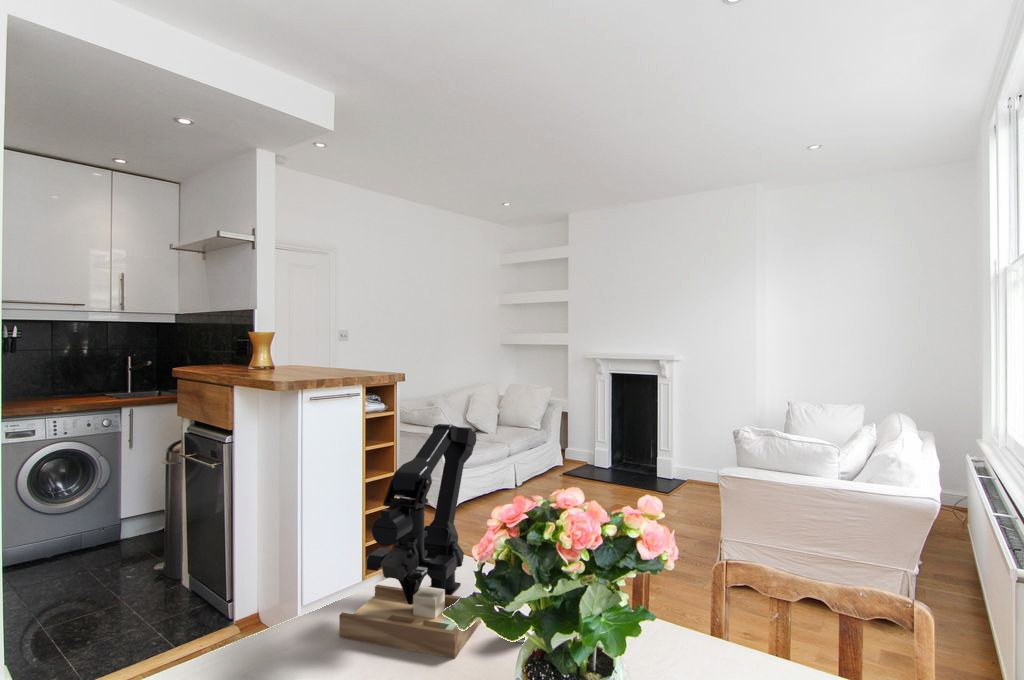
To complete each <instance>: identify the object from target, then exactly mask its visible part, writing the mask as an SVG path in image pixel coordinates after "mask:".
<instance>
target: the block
mask: <svg viewBox="0 0 1024 680" xmlns="http://www.w3.org/2000/svg"><path fill="white" fill-rule="evenodd" d="M444 609H445V589H439V588H432V587H430V586H422V587H420V588H419V590H418V592H417V593H416V594H414V595H413V615H416V616H422V617H428V618H434V619H436V617H437V616H438V615H439V614H440V613H441V612H442V611H443V610H444Z"/></svg>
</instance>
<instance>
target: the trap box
mask: <svg viewBox="0 0 1024 680" xmlns="http://www.w3.org/2000/svg"><path fill="white" fill-rule="evenodd" d="M460 597H461V596H457V595H453V594H452V595H446V594H445V608H447V607H449V606H450V605H452V604H454V603H455V602H456V601H457V600H458V599H459V598H460ZM338 623H339V626H338V627H339V633H338V634H339V638H341V639H346V640H351V639H352V640H351V641H357V640H358V642H362V641H363V642H364V643H370V644H372V645H373V644H374V645H379V646H385V647H390V648H396V649H401V650H407V651H413V652H417V653H422V654H428V655H434V656H439V657H445V658H451V659H456V658H457V657H458V655H459V653H460V652H461V651H462V649H464V647H465V646H466V644H467V642H468V641H469V640H470V638H471V637H472V636H473V634H474V633H475V632H476V631H477V628H478V627H479V626H480V624H481V623H482V622H481V621H480V620H478V621H476V622H475V623H474V624H473V625H472V626H471V627H469V628H468V629H467V630H465V631H461V630H459V629H458V627H457V625H455V624H454V622H452V621H451V620H450V619H448V618H446V617H444V616H443V615H442V612H441V613H440V614H439V615H438V616H437V617H436V619H434V618H428V617H422V616H416V615H413V604H412V605H410V604H408V602H407V599H406V597H405V594H404V591H403V589H402V587H395V586H389V585H383V584H382V585H381V584H376V585H375V586H374V596H372V597H371V598H370V599H368V601H367V602H365V603H364V604H362V605H361V607H359V608H358V609H357V610H356V611H354V612H353V613H348V612H342V611H341V613H340V614H339V622H338Z"/></svg>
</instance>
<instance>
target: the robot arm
mask: <svg viewBox="0 0 1024 680" xmlns="http://www.w3.org/2000/svg"><path fill="white" fill-rule="evenodd" d="M476 444H477V434H476V432H475V431H473V428H472V427H467V426H466V427H465V426H464V427H463V426H457V425H454V424H451V423H450V424H448V423H447V424H446V423H445V424H444V423H443V424H442V423H437V424H435V425H434V426H433V428H432V433H430V435H428V438H427V439H426V441H425V442H424V444H423V445H422V447H421V448H420V449H419V451H418V452H417V454H416V455H415V457H414V458H413V459H411V460H410V461H407V462H405V463H403V464H402V465H401V466H400V467H398V469H397V470H396V471H395V472H394V474H393V475H392V477H391V479H390V482H389V485H388V488H387V492H386V493H385V498H384V499H383V504H382V505H383V507H388V508H384V509H382V510H380V516H379V517H378V518H376V520H375V521H374V522H373V525H372V527H371V535H372V538H373V540H374V541H375V542H376V543H377V544H378V545H379V546H381V547H378V548H377V549H376V550H374V551H372V552H371V553H370V554H368V555H367V556H366V559H365V569H366V570H368V571H376V572H378V571H379V570H380V569H381V570H382V574H383V577H384V578H385V579H389V578H390V579H395V580H397V581H398V582H399V584H400V586H401V588H402V589H403V591H404V594H405V597H406V599H407V602H408V604H410V605H412V604H413V595H414V594H416V593H417V592H418V591H419V590H420V588H421V586H422V582H423V580H424V578H425V577H426V576H428V577H429V579H430V585H429V587H432V588H439V589H445V594H446V595H452V596H453V594H454V593H455V592H456V591H457V590H458V589H459V588H460V587H461V582H456V570H457V568H460V567H462V566H463V562H464V558H465V557H464V556H465V555H464V554H465V553H464V551H463V548H462V547H461V546H460V545H459V543H458V542H459V534H458V531H457V529H456V527H455V526H456V525H455V518H456V517H455V516H456V511H457V507H458V500H459V496H460V495H459V494H460V489H461V484H462V478H463V477H462V476H463V472H464V466H465V464H466V462H467V461H468V460H469V458H470V457H471V456H472V454H473V451H474V448H475V445H476ZM442 457H444V463H443V467H442V468H443V470H442V472H441V473H442V475H441V479H440V485H439V490H438V494H437V495H438V496H437V500H436V507H435V512H434V516H433V517H434V518H433V519H432V521H431V522H430V524H429V525H425V505H426V504H427V503H429V499H428V498H427V496H428V494H429V491H430V488H431V485H432V483H433V480H432V473H433V471H434V469H435V468H436V466H437V464H438V463H439V462H440V460H441V458H442ZM391 546H392V547H391ZM387 547H391V548H387Z"/></svg>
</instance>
